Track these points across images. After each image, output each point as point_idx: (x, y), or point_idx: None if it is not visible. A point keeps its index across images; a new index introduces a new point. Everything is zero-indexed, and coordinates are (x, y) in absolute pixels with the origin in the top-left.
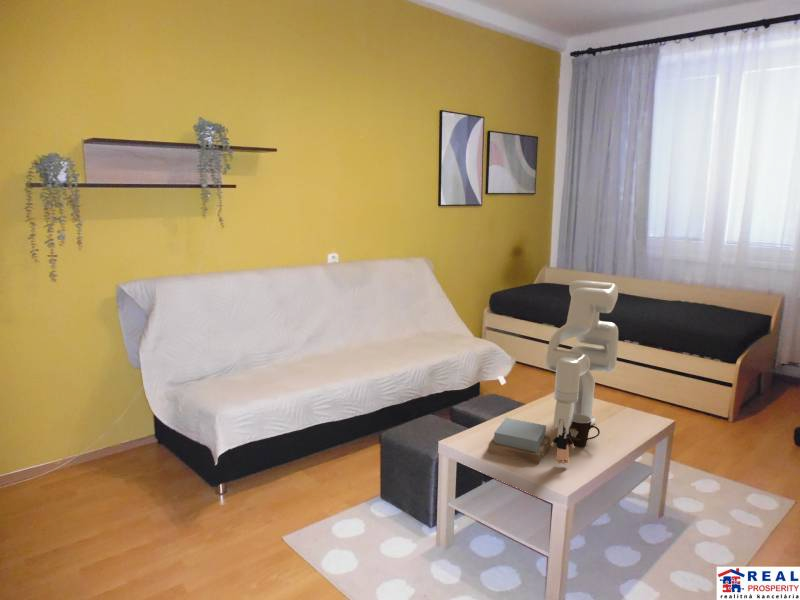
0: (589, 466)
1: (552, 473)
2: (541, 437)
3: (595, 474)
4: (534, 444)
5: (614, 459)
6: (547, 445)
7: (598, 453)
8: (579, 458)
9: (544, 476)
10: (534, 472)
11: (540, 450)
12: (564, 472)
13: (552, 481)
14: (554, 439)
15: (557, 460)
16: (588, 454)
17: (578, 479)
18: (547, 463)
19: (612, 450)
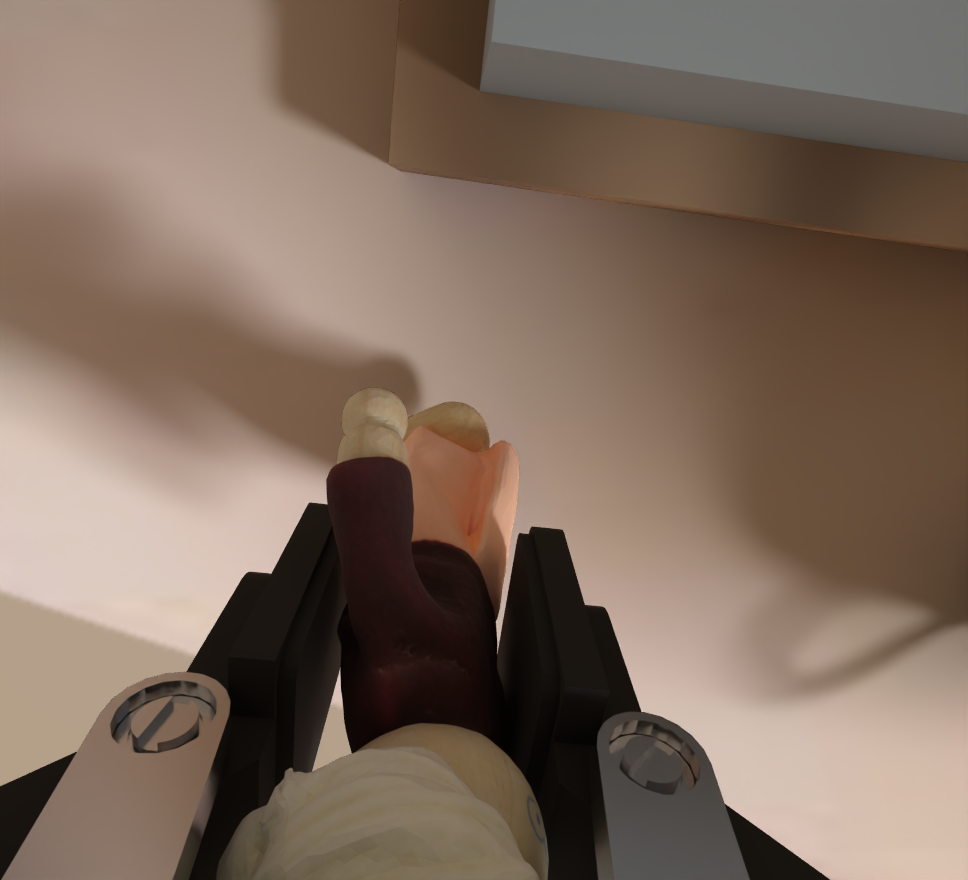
0: None
1: (225, 363)
2: (938, 136)
3: None
4: (492, 3)
5: None
6: (937, 245)
7: (865, 741)
8: (712, 602)
9: (92, 276)
10: (127, 132)
11: (572, 162)
12: (318, 486)
13: (23, 379)
14: (346, 519)
15: (410, 429)
16: (826, 670)
17: None
18: (467, 282)
19: (947, 830)
